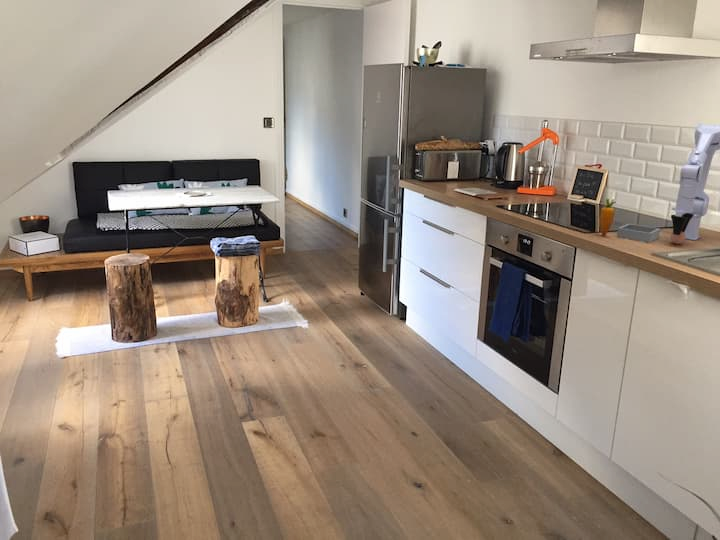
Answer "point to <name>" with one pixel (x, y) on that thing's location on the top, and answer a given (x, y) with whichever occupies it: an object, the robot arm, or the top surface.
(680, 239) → the ball
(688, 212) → the robot arm
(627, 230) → the grey tray
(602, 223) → the carrot
